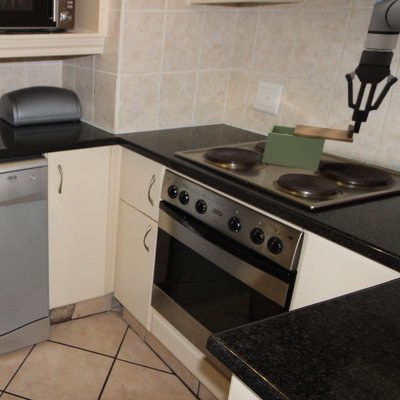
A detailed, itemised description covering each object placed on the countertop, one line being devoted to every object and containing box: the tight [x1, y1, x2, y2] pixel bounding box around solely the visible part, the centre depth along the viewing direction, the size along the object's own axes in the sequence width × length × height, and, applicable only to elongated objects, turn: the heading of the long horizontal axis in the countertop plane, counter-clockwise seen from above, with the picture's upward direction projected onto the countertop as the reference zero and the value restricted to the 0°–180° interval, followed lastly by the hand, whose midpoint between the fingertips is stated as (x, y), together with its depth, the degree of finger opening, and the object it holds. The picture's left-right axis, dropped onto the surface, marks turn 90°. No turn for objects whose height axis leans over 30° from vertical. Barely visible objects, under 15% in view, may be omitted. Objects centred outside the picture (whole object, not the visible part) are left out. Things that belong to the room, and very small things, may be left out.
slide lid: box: [293, 123, 355, 144], centre depth 146 cm, size 16×13×3 cm
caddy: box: [261, 124, 326, 171], centre depth 152 cm, size 16×13×10 cm
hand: (355, 132), depth 143 cm, fingers closed
